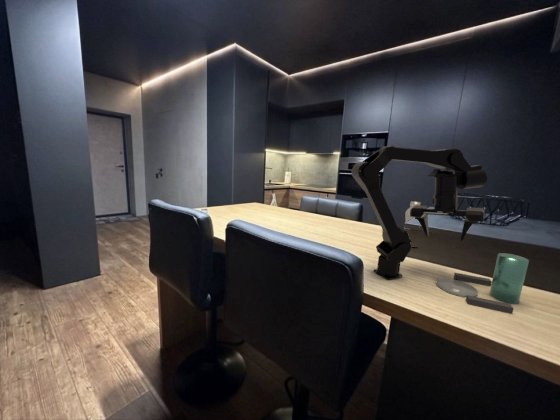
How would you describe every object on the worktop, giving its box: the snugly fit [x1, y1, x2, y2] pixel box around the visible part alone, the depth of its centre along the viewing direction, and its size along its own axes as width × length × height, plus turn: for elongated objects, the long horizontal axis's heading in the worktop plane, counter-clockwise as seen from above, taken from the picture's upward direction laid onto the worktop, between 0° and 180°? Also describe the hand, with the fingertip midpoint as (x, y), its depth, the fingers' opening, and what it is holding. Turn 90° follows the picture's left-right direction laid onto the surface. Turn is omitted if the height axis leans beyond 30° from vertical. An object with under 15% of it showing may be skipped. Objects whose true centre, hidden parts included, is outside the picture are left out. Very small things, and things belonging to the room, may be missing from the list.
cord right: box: [465, 295, 514, 314], centre depth 62 cm, size 9×2×2 cm, turn 64°
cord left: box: [453, 272, 492, 287], centre depth 75 cm, size 9×2×2 cm, turn 64°
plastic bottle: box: [404, 200, 421, 223], centre depth 105 cm, size 6×7×20 cm
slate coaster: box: [435, 277, 479, 298], centre depth 71 cm, size 10×10×1 cm
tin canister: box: [489, 252, 530, 305], centre depth 65 cm, size 6×6×12 cm
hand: (443, 238), depth 76 cm, fingers open, 9 cm apart
